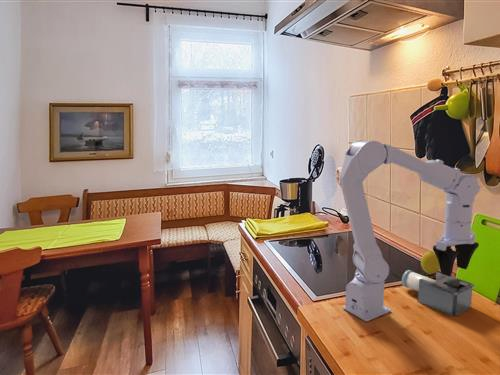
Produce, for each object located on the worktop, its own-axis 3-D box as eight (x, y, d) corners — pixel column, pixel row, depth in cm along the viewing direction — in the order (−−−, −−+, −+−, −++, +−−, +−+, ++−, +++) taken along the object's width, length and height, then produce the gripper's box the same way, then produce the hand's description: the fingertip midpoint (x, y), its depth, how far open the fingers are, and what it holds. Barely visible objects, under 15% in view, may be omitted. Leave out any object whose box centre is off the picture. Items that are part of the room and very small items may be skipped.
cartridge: (445, 297, 91) (446, 280, 90) (434, 302, 89) (436, 284, 88) (411, 284, 100) (412, 268, 99) (401, 288, 97) (402, 272, 96)
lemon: (442, 278, 104) (443, 254, 103) (423, 277, 106) (424, 253, 104) (436, 271, 110) (437, 248, 109) (418, 270, 111) (419, 247, 110)
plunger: (461, 286, 86) (462, 279, 86) (455, 289, 85) (456, 282, 84) (450, 282, 88) (451, 276, 88) (444, 285, 87) (445, 278, 87)
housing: (472, 307, 87) (474, 284, 86) (453, 317, 83) (455, 293, 82) (436, 293, 95) (438, 271, 94) (417, 301, 91) (419, 279, 90)
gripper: (458, 228, 77) (454, 283, 79) (489, 219, 84) (485, 270, 86) (429, 222, 83) (426, 273, 85) (460, 214, 90) (457, 261, 92)
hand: (454, 271), depth 86 cm, fingers open, 7 cm apart
